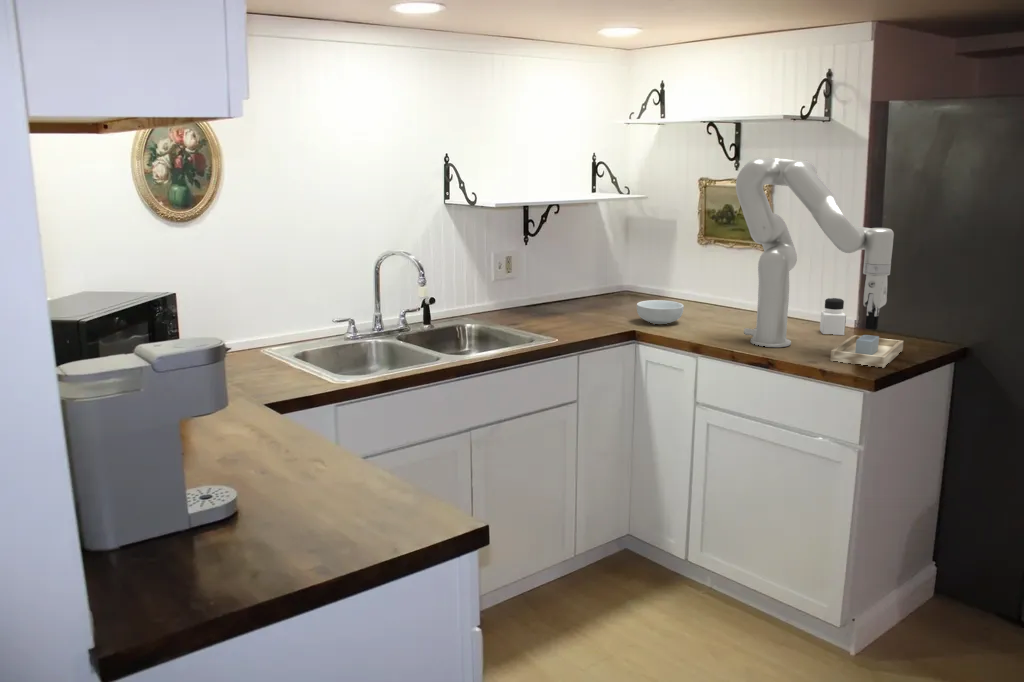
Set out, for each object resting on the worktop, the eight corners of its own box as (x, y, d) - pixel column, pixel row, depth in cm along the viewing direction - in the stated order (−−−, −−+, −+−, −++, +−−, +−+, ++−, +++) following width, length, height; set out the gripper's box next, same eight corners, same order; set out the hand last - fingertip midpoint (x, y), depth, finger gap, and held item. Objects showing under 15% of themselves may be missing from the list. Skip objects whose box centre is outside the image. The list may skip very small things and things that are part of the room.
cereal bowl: (632, 326, 303) (633, 306, 301) (639, 317, 318) (640, 299, 317) (680, 328, 298) (681, 309, 296) (685, 319, 313) (686, 301, 312)
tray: (830, 361, 251) (831, 350, 250) (852, 344, 271) (853, 335, 271) (883, 368, 242) (884, 357, 241) (902, 350, 263) (903, 340, 262)
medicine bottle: (844, 335, 285) (847, 300, 282) (822, 334, 286) (825, 300, 284) (841, 331, 292) (843, 297, 289) (819, 330, 293) (822, 296, 291)
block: (862, 348, 261) (855, 354, 254) (863, 334, 260) (856, 339, 253) (877, 350, 258) (870, 356, 251) (879, 336, 257) (872, 341, 250)
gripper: (884, 273, 245) (878, 334, 249) (895, 267, 257) (889, 325, 261) (857, 271, 249) (852, 331, 253) (869, 265, 261) (864, 323, 265)
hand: (871, 328), depth 257 cm, fingers closed
